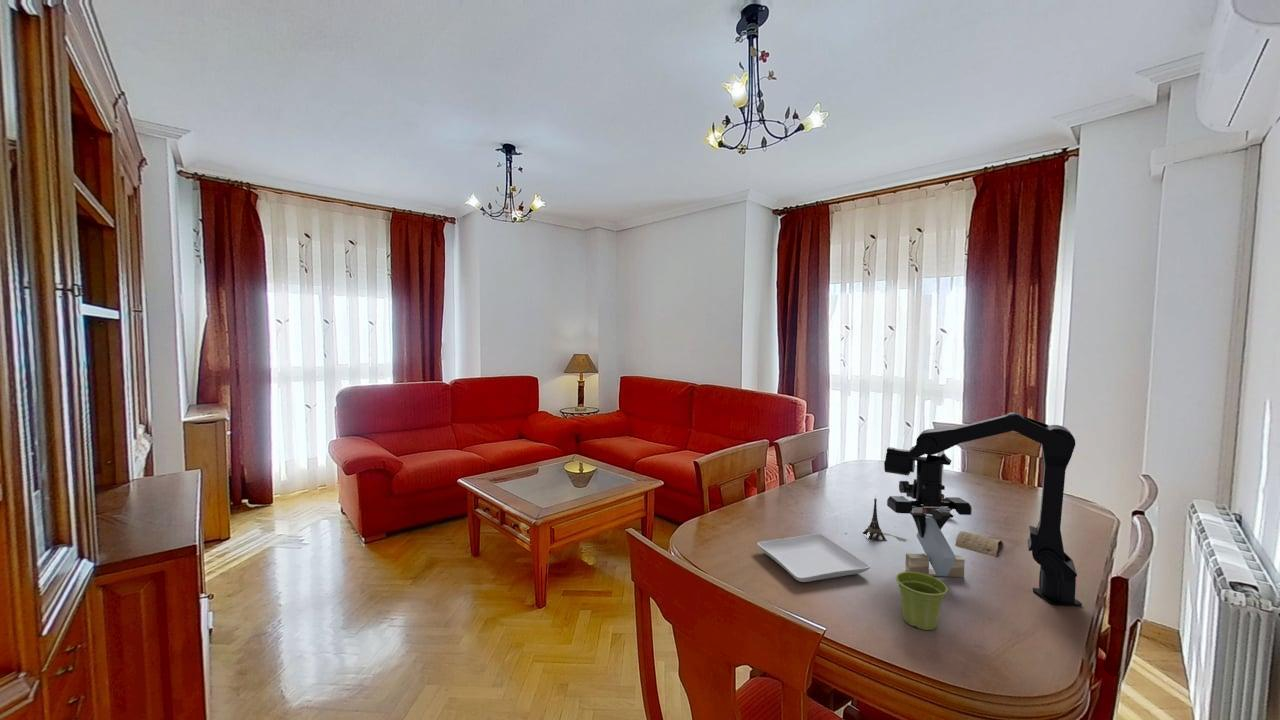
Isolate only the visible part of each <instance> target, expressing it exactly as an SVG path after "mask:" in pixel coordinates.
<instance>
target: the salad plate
mask: <svg viewBox="0 0 1280 720" xmlns="http://www.w3.org/2000/svg"><path fill="white" fill-rule="evenodd" d="M756 545H757V547H758V549H760V551H762V552H763V553H764V554H766V556H768V557H770V559H772V561H775V562H776V563H777V564H778V565H779V566H780V567H782V568H783V569H784V570H785V571H786V572H788V574H789V575H791V577H793V578H794V579H795V580H796V581H798V582H801V583H807V582H808V583H810V582H814V581H815V582H816V581H819V580H820V581H821V580H827V579H828V580H829V579H833V578H834V579H835V578H839V577H844V576H845V577H846V576H852V575H858V574H861V573H865V572H868V570H869V569H871V565H869V564H868V563H867V562H865V561H864V560H862V559H861V558H860V557H857V556H856V555H855V554H853V553H852V552H850V551H849V550H847V549H845V548H844V547H842V546H841V545H839V544H838V543H836V542H835V541H833V540H832V539H830V538H828V536H825V535H824V534H822V533H815V534H807V535H806V534H805V535H798V536H792V537H785V538H777V539H772V540H763V541H758V542H756Z"/></svg>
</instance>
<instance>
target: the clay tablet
mask: <svg viewBox="0 0 1280 720" xmlns="http://www.w3.org/2000/svg"><path fill="white" fill-rule="evenodd" d="M999 543H1003V540H1001V539H996V538H992V537H987V536H984V535H981V534H980V535H979V534H977V533H970V532H968V531H965V530H964V531H963V530H962V531H959V532H958V534H957V536H956V540H955V544H954V546H955V547H957V548H960V549H964V550H967V551H971V552H975V553H978V554H983V555H986V556H991V557H994V558H996V557H997V553H998V550H999Z"/></svg>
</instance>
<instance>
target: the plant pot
mask: <svg viewBox="0 0 1280 720" xmlns="http://www.w3.org/2000/svg"><path fill="white" fill-rule="evenodd" d="M895 580H896V582H897V583H898V588H899V592H900V599H901V600H900V601H901V606H902V608H901V609H902V618H903V620H904V621H905V623H907V624H908V625H910V626H913V627H916V628H918V629H919V630H923V631H934V630H935V629H936V627H937V626H938V623H939V622H938V621H939V615H940V612H941V606H942V602H943V600H944V599H945V595H946V594H947V593H948V590H949V589H948V586H947V584H945V583H944V582H943V581H942V580H940V579H938V578H936V577H935V576H929V575H926V574H923V573H918V572H907V571H901V572H900V573H897V575H895Z"/></svg>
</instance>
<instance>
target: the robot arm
mask: <svg viewBox="0 0 1280 720" xmlns="http://www.w3.org/2000/svg"><path fill="white" fill-rule="evenodd" d="M1009 432H1016V433H1017V434H1020V435H1022V436H1024V437H1026V438H1028V439H1030V440H1031V441H1035V442H1037V443H1039V444H1040V446H1041V452H1042V457H1043V458H1042V459H1043V474H1042V475H1043V476H1042V486H1041V487H1042V488H1041V499H1040V508H1039V509H1040V510H1039V520H1038V523H1037V524H1036V525H1037V526H1036V527H1035V526H1032V525H1028V527H1029V530H1028V531H1029V536H1028V537H1029V538H1027V547H1028V551H1029V552H1031V555H1032V556H1031V557H1032V558H1033V560H1034V561H1035V562H1036V563H1037V564H1038V565H1040V568H1039V577H1038V578H1039V579H1038V580H1039V581H1038V587H1033V588H1032V591H1033V592H1034V593H1035V594H1037V595H1038V596H1039V597H1041V598H1042V599H1044V600H1045V601H1047V602H1048V603H1049V604H1051V605H1054V606H1055V605H1056V606H1077V607H1083V603H1082V602H1081V601H1079V600H1078V599H1076V589H1077V587H1076V585H1077V576H1078V573H1077V570H1076V567H1075V564H1074V563H1075V562H1074V560H1073V559H1072V557H1070V556H1069V555H1068V554H1067V553H1066V552H1065V550H1064V544H1063V537H1062V531H1061V524H1062V513H1063V503H1064V490H1065V482H1066V481H1065V480H1066V470H1067V467H1068V465H1069V463H1070V461H1071V459H1072V457H1073V452H1074V450H1075V447H1076V439H1075V437H1074V435H1073V434H1072V432H1071V431H1070V430H1069V429H1068V428H1067V427H1066V426H1065V427H1064V426H1063V425H1058V424H1051V425H1049V424H1047V423H1045V422H1042V421H1039V420H1036V419H1032V418H1030V417H1027V416H1026V415H1022V414H1020V413H1018V412H1015V411H1014V412H1013V411H1012V412H1011V411H1010V412H1008V413H1006V414H1004V415H999V416H996V417H992V418H991V417H990V418H987V419H984V420H980V421H976V422H975V421H974V422H971V423H968V424H964V425H960V426H955V427H939V428H938V427H937V428H928V429H925V430H923V431H921V433H920V434H918V436H917V438H916V442H915V443H916V444H915V445H914V446H913V445H912V447H911V448H910V449H909V450H908V449H901V448H900V449H899V448H895V447H891V446H889V447H886V453H885V460H884V462H883V465H884V467H883V469H884V472H885V473H888V474H895V475H902V476H907V477H909V476H910V475H911V473H915V467H916V478H914V479H913V483H912V484H910V482H909V481H908V480H900V481H899V482H898V491H899V493H900V494H906V497H907V498H906V497H905V496H903V495H899V496H898V495H889V497H888V498H887V499H886V500H887V501H886V506H887V507H888V508H889V509H890V510H892V511H893V512H894V513H897V514H909V515H911V516H912V518H913V521H914V523H915V527H916V530H917V533H918V532H919V535H920V537H921V538H923V537H924V533H925V521H926V518H927V514H923V509H931V512H932V515H931V518H934V520H935V521H936V523H937V525H938V527H939V528H940V530H941V531H942V528H943V527H944V526H945V524H946V523H947V522H948V521H949V520H950V518H951V519H953V518H954V515H953V514H952V513H951V511H950V509H952V510H955V512H956V513H957V514H959V515H962V516H963V515H964V516H971V515H972V514H973V513H972V512H973V509H972V505H971V504H970V502H969V501H968V502H967V501H966V500H964V499H962V498H961V497H960V496H959V497H958V496H957V497H953V496H951V497H950V496H949V497H947V496H946V497H944V498H945V499H944V501H942V500H941V499H942V494H943V492H942V491H944V490H945V487H946V486H945V485H944V484H943V465H946V466H950V465H951V464H952V459H950V458H949V456H947V454H946V453H942V452H944V451H946V450H948V449H951V448H952V447H955V446H957V445H959V444H962V443H967V442H971V441H975V440H979V439H984V438H988V437H993V436H996V435H997V436H998V435H1002V434H1005V433H1009ZM940 453H942V454H940ZM937 454H940V455H937ZM924 455H926V456H924ZM909 497H910V498H912V499H914V500H909V499H908V498H909Z"/></svg>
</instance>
